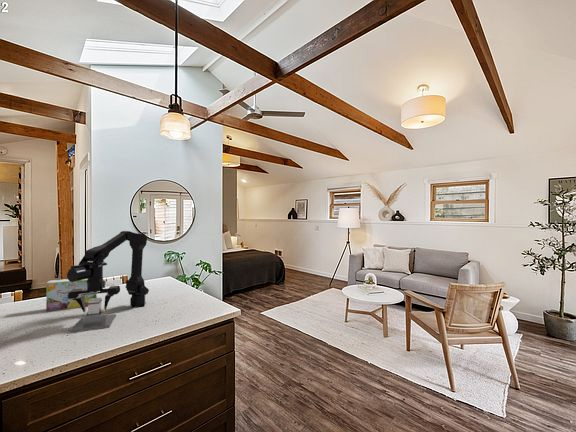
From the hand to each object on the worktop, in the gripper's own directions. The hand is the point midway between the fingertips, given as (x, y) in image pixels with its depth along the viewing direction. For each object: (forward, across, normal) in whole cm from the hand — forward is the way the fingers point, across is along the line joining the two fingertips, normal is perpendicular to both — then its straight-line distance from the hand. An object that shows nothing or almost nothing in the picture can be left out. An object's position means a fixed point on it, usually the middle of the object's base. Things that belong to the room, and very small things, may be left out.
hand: (95, 310), depth 120 cm
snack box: (+6, +17, -30) cm, 35 cm away
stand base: (+6, 0, 0) cm, 6 cm away
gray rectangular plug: (+5, 0, 0) cm, 5 cm away
